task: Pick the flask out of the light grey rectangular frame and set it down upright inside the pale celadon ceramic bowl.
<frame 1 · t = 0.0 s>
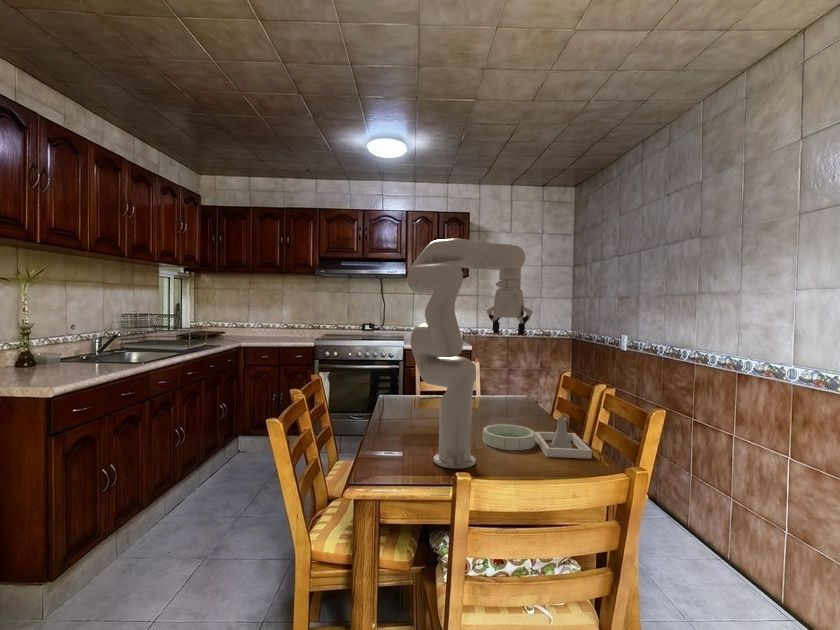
hand: (508, 334, 164), 37 cm above the table, tool pointing down, fingers open, 9 cm apart
bowl: (508, 442, 161), on the table
light grey rectangular frame: (561, 447, 156), on the table
flask: (561, 448, 156), resting in light grey rectangular frame
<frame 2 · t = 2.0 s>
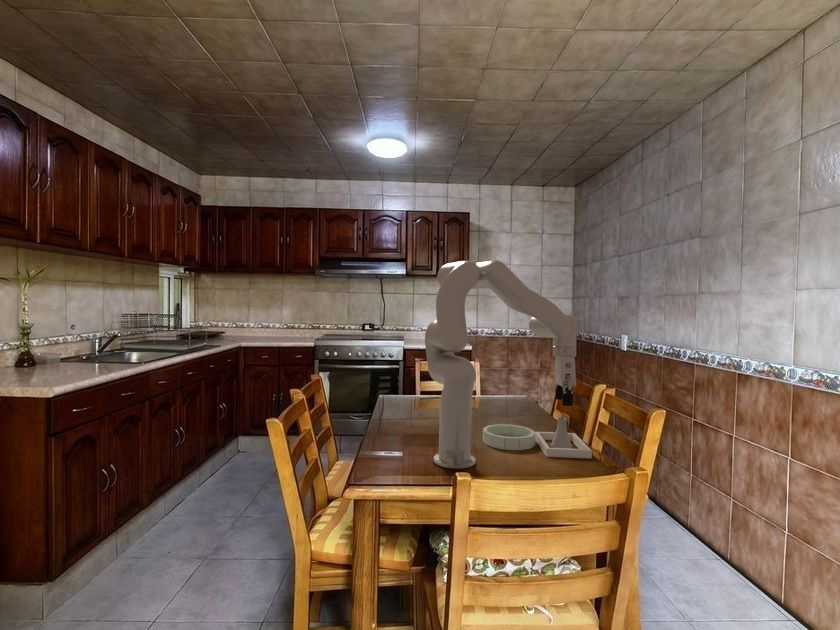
hand: (563, 402, 156), 15 cm above the table, tool pointing down, fingers open, 9 cm apart
nothing on the table moved.
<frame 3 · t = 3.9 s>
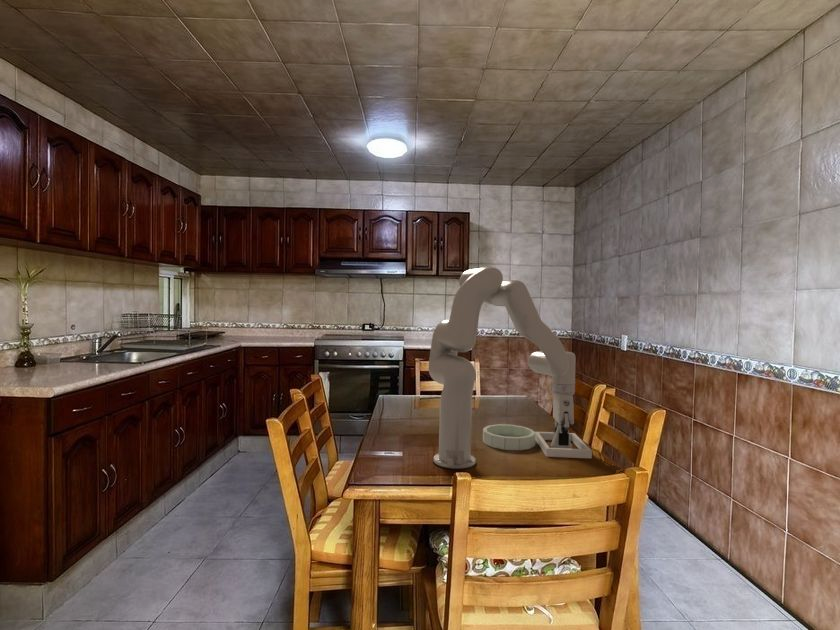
hand: (561, 442, 156), 2 cm above the table, tool pointing down, fingers closed on flask, 4 cm apart
flask: (561, 448, 156), resting in light grey rectangular frame, touching gripper
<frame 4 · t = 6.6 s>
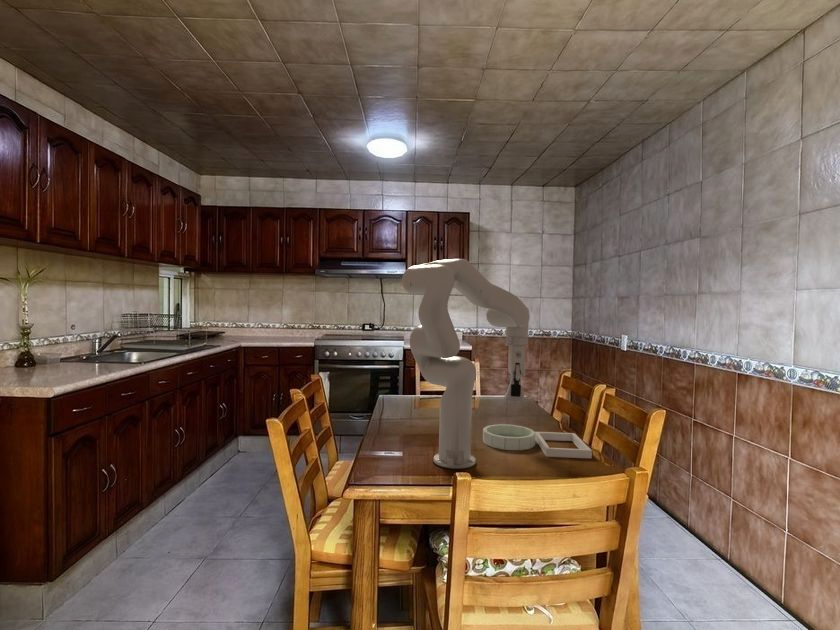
hand: (514, 394, 160), 17 cm above the table, tool pointing down, fingers closed on flask, 4 cm apart
flask: (514, 400, 160), point 15 cm above the table, touching gripper
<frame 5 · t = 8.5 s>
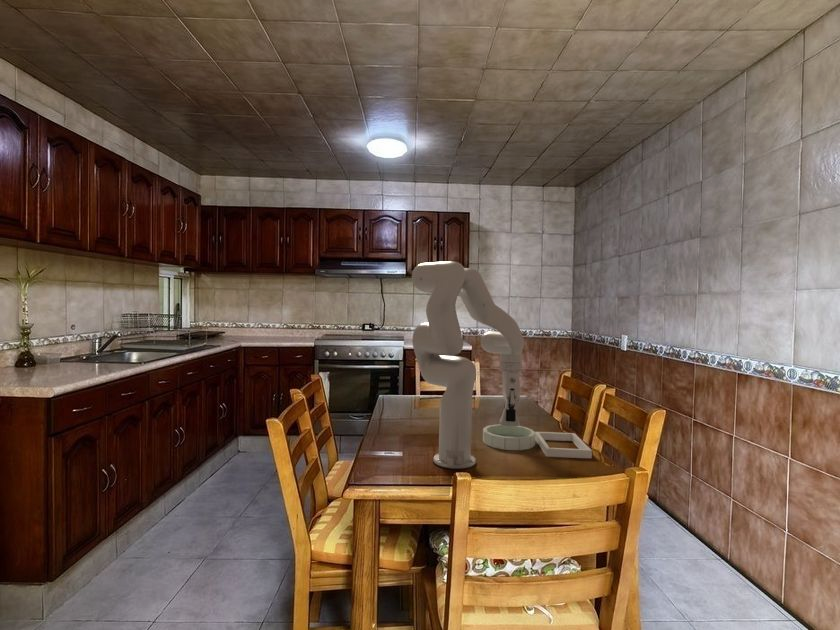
hand: (509, 418, 161), 8 cm above the table, tool pointing down, fingers closed on flask, 4 cm apart
flask: (509, 424, 161), point 6 cm above the table, touching gripper
when the fingers open (4 cm above the table, at t = 9.7 s): flask drops 1 cm, resting on bowl.
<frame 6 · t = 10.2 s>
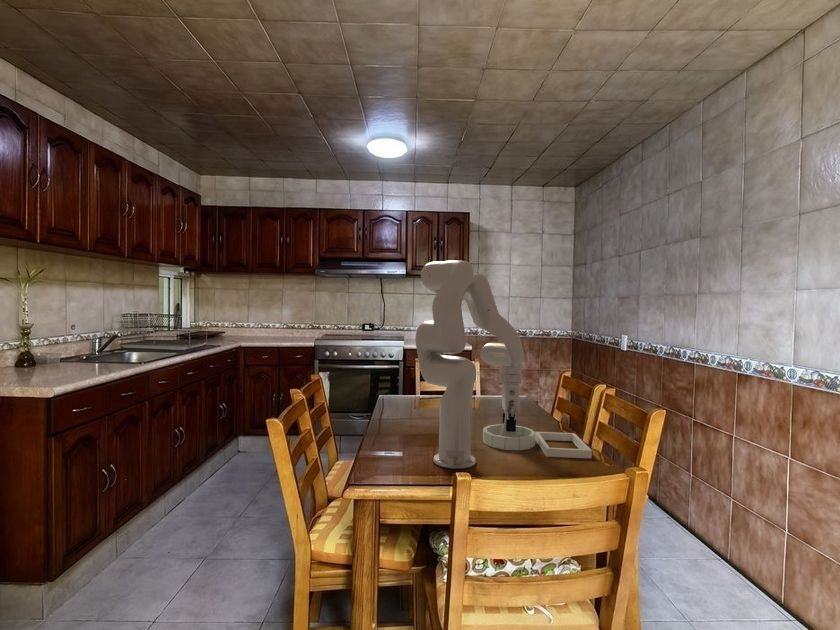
hand: (508, 427, 161), 5 cm above the table, tool pointing down, fingers open, 9 cm apart
flask: (508, 441, 161), resting on bowl
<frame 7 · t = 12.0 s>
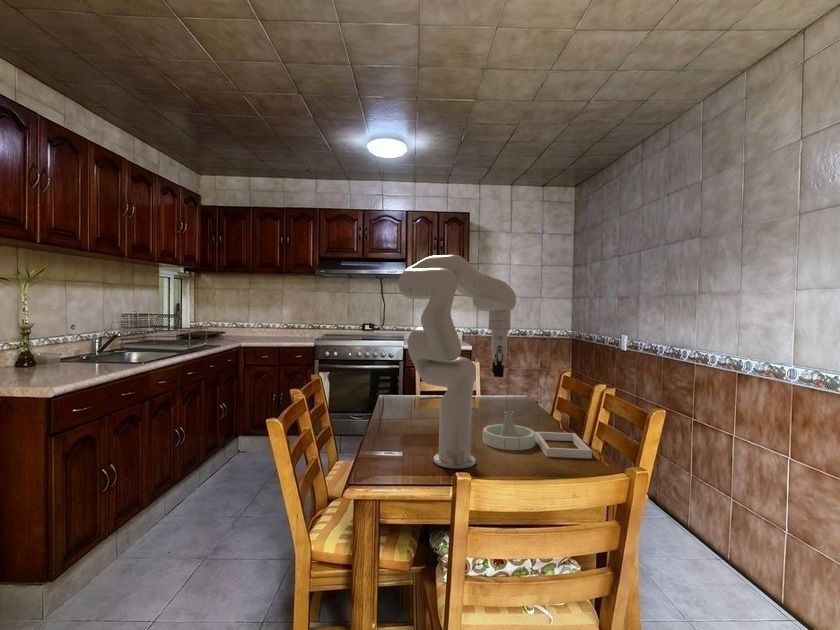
hand: (497, 375, 162), 23 cm above the table, tool pointing down, fingers open, 9 cm apart
nothing on the table moved.
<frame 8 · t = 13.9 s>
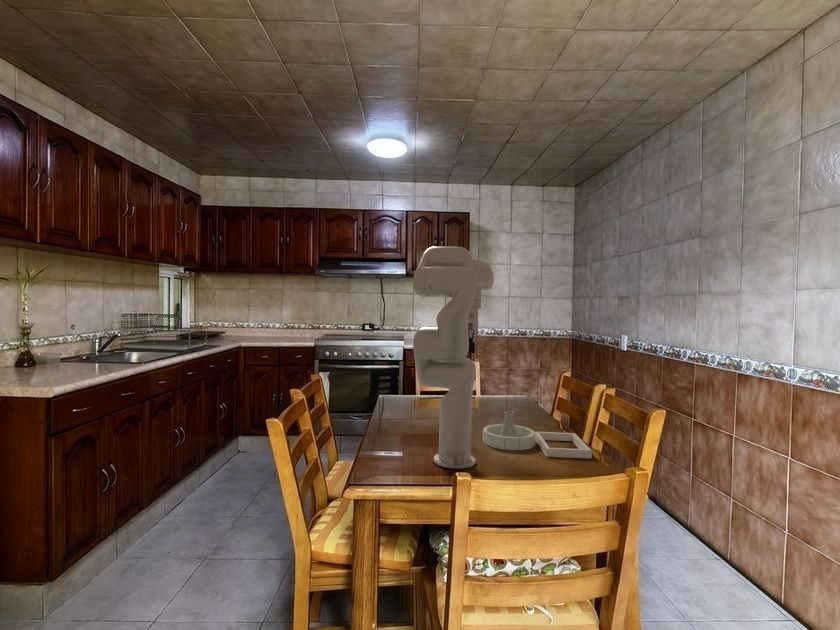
hand: (469, 351, 168), 30 cm above the table, tool pointing down, fingers open, 9 cm apart
nothing on the table moved.
at the end: flask inside the target area on the bowl (0.1 cm from its centre), point 0.4 cm above the bowl's base; flask tilted 0°; the gripper is holding nothing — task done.
